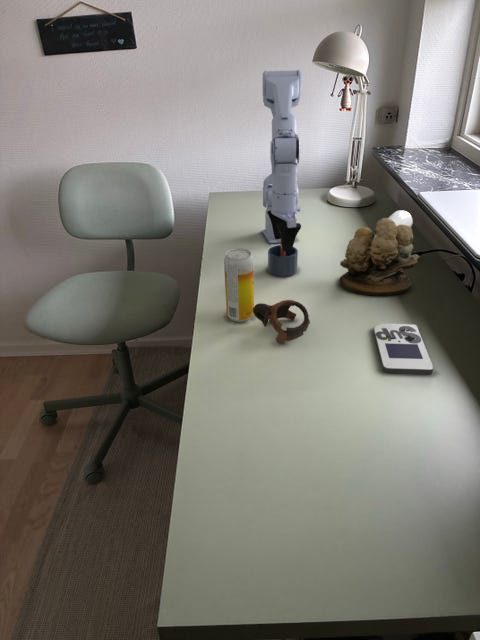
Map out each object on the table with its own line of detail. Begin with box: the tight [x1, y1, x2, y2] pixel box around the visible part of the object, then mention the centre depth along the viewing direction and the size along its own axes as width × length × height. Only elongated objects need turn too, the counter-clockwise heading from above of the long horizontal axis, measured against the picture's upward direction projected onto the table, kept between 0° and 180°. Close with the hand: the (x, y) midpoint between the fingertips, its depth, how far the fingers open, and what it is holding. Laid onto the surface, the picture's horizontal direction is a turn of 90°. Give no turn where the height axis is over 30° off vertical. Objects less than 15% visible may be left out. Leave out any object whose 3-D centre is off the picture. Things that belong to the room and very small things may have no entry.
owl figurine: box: [339, 217, 420, 297], centre depth 113 cm, size 18×12×17 cm, turn 87°
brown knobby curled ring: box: [253, 299, 311, 345], centre depth 100 cm, size 12×10×8 cm
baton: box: [280, 242, 285, 256], centre depth 123 cm, size 1×1×8 cm
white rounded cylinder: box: [374, 209, 414, 236], centre depth 137 cm, size 7×7×15 cm
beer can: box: [223, 248, 255, 323], centre depth 103 cm, size 6×6×15 cm
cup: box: [267, 244, 299, 278], centre depth 124 cm, size 7×7×6 cm
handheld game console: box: [373, 323, 434, 375], centre depth 95 cm, size 9×15×1 cm, turn 175°
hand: (283, 244), depth 122 cm, fingers open, 7 cm apart
